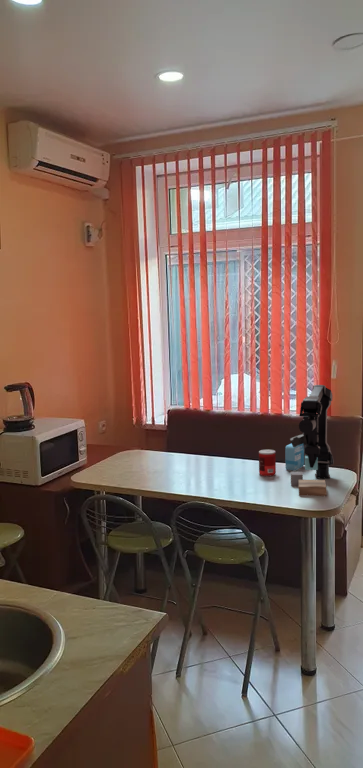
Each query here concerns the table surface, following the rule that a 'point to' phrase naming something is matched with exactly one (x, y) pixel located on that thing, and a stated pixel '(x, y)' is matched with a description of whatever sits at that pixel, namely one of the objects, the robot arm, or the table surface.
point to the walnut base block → (312, 487)
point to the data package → (294, 457)
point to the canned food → (267, 462)
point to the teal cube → (307, 464)
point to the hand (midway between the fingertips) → (311, 465)
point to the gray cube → (296, 478)
